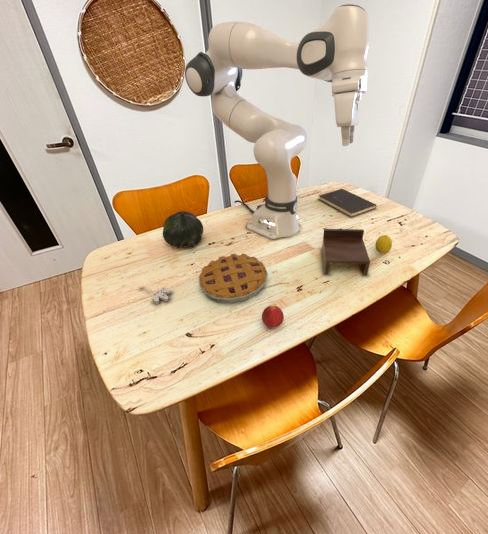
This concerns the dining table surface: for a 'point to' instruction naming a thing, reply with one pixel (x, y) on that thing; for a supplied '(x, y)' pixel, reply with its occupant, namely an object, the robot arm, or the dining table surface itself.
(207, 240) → the dining table surface
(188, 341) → the dining table surface
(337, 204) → the hardcover book
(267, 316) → the red round solid
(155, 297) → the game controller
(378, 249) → the lemon
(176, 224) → the squash
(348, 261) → the shelf
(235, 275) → the pie
